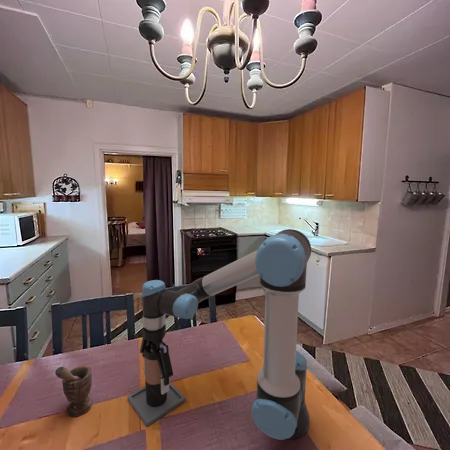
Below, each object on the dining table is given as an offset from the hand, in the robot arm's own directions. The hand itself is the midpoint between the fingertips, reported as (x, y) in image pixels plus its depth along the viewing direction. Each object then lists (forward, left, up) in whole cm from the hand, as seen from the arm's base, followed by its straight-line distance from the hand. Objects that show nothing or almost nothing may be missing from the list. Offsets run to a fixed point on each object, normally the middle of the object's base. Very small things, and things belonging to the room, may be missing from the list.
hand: (156, 382), depth 91 cm
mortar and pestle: (+14, +22, -8) cm, 27 cm away
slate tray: (0, 0, -7) cm, 7 cm away
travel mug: (0, 0, -7) cm, 7 cm away
